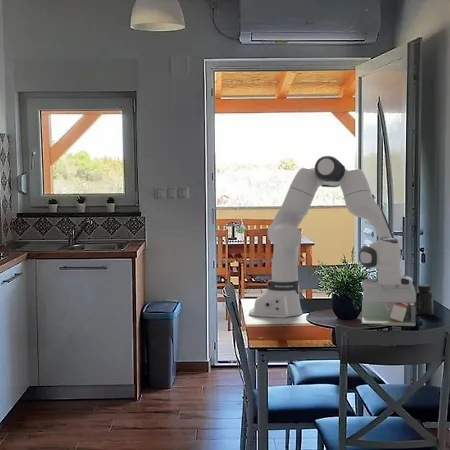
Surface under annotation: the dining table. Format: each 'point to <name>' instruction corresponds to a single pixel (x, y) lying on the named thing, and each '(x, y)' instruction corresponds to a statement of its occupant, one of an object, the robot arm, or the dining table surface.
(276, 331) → the dining table surface
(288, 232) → the robot arm
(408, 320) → the pale green storage bin
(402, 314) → the beige box
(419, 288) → the supplement bottle
